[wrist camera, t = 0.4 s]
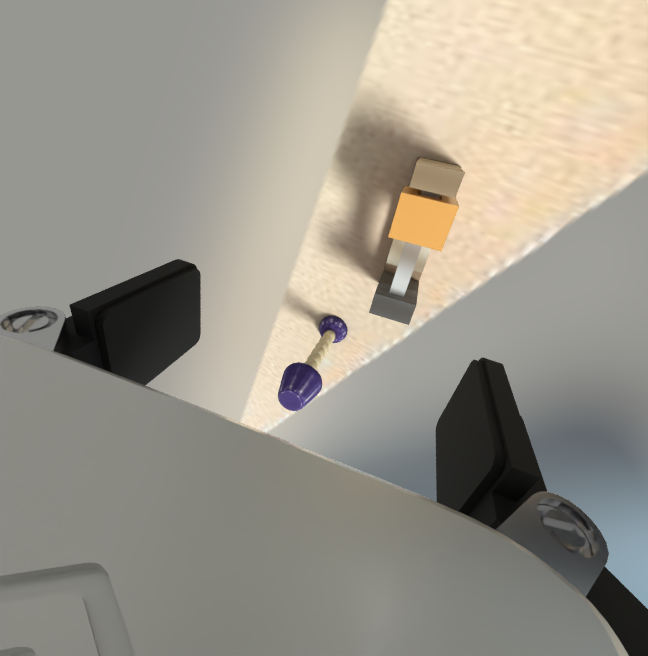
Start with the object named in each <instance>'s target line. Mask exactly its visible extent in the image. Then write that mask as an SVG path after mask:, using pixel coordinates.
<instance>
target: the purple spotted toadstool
mask: <svg viewBox="0 0 648 656" xmlns="http://www.w3.org/2000/svg"><path fill="white" fill-rule="evenodd" d="M319 331H320V334H321V336H322V338H321V339H320V341H319V343H317V345H316V347H315V348H314V349H313V351H312V353H311V355H310V356H309V357H308V359H307V361H306V362H305V363H300V362H298V363H293V364H291V365H289V366H288V367H287V368H286V369H285V371H284V374H283V377H282V381H281V385H280V388H279V392H278V399H279V402H280V403H281V405H282V406H283V407H285V408H286V409H288V410H291V411H297V410H300V409H302V408H303V407H304V406H305V405H307V404H308V403H309V402H310V401H311V400H312V399H313V398H314V397H315V396H316V395H317V394H318V393H319V392H320V390H321V388H322V379H321V376H320V374H319V373H318V372H317V367H318V366H319V365H320V363H321V361H322V360H323V358H324V357H325V354H326V353H327V352H328V349H329V348H330V346H331V345H332V343H337V342H340V341H342V340H343V339H344V338H345V337H346V335H347V326H346V324H345V323H344V321H343V320H341V319H340V318H338V317H335V316H328V317H325V318H324V319H323V320H322V321H321V323H320V326H319Z"/></svg>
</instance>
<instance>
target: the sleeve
mask: <svg viewBox="0 0 648 656" xmlns="http://www.w3.org/2000/svg"><path fill="white" fill-rule="evenodd" d="M421 193H422V190H420V189H415V188H411V187H409V186H405V187H404V189H403V190H402V192H401V195H400V198H399V202H398V205H397V209H396V212H395V216H394V219H393V222H392V226H391V229H390V233H389V236H388V237H389V238H393V239H397V240H400V241H404V242H408V243H412V244H415V245H419V246H423V247H427V248H430V249H434V250H438V251H442V248H443V246H444V243H445V241H446V238H447V236H448V233H449V231H450V228H451V225H452V223H453V220H454V218H455V215H456V213H457V210H458V208H459V205H458V202H457V200H456V198H453V197H449V196H444V195H440V197H439V199H436V198H432V197H428V196H424V195H421Z"/></svg>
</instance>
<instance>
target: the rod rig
mask: <svg viewBox="0 0 648 656" xmlns="http://www.w3.org/2000/svg"><path fill="white" fill-rule="evenodd" d="M464 173H465V172H464V171H463V170H462V169H461V166H457V165H453V164H448V163H444V162H439V161H435V160H430V159H426V158H422V157H418V159H417V162H416V166H415V169H414V172H413V176H412V179H411V182H410V186H409V187H411V188H415V189H420V190H422V193H421V195H424V196H428V197H432V198H436V199H439V197H440V195H444V196H449V197H453V198H455V197H456V194H457V192H458V189H459V186H460V184H461V181H462V179H463V176H464ZM430 250H431V249H430V248H427V247H423V246H419V245H415V244H412V243H408V242H404V241H400V240H397V239H393V242H392V245H391V248H390V252H389V255H388V258H387V262H386V265H385V268H384V271H383V274H382V277H381V279H380V282H379V284H378V287H377V289H376V292H375V295H374V298H373V301H372V305H371V308H370V312H369V313H372V314H375V315H378V316H381V317H385V318H388V319H391V320H395V321H398V322H401V323H404V324H408V325H409V323H410V320H411V318H412V315H413V312H414V310H415V307H416V303H417V294H418V285H419V279H420V277H421V274H422V272H423V269H424V266H425V264H426V261H427V258H428V256H429V253H430Z"/></svg>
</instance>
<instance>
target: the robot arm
mask: <svg viewBox="0 0 648 656" xmlns="http://www.w3.org/2000/svg"><path fill="white" fill-rule="evenodd" d="M70 309H71V313H72V316H71V317H68V318H66V317H65V314H64V313H63V312H62V311H60V310H58V309H56V308H51V307H41V306H37V307H26V308H21V309H16V310H13V311H10V312H7V313H5V314H3V315H1V316H0V656H648V609H647V608H646V607H645V606H644V605H643V604H642V603H641V602H640V601H639V600H638V599H637V598H636V597H635V596H634V595H633V594H632V593H631V592H630V591H629V590H628V589H627V588H625V586H624V585H623V584H622V583H620V582H619V580H618V579H617V578H616V577H615V576H614V575H613V574H612V573H611V572H610V571H608V569H607V568H606V567H605V565H606V563H607V560H608V555H609V552H608V548H607V543H606V541H605V539H604V538H603V535H602V533H601V532H600V530H599V529H598V528H597V526H596V525H595V524H594V523H593V521H592V520H591V519H590V518H589V517H588V516H587V515H586V514H585V513H584V512H583V511H582V510H581V509H580V508H578V507H577V506H576V505H574V504H573V503H572V502H570V501H569V500H567V499H565V498H563V497H561V496H559V495H557V494H554V493H550V492H547V489H546V487H545V484H544V481H543V478H542V475H541V472H540V469H539V466H538V463H537V460H536V457H535V454H534V451H533V448H532V446H531V442H530V439H529V436H528V433H527V430H526V428H525V424H524V421H523V419H522V417H521V416H520V414H519V411H518V408H517V405H516V402H515V399H514V396H513V393H512V390H511V387H510V384H509V381H508V378H507V375H506V372H505V370H504V366H503V364H501V363H497V362H495V361H492V360H488V359H486V358H481V359H480V360H479V361H477V360H473V361H472V362H471V363H470V365H469V367H468V369H467V371H466V372H465V374H464V376H463V378H462V379H461V381H460V383H459V385H458V386H457V388H456V390H455V392H454V394H453V395H452V397H451V399H450V401H449V403H448V404H447V406H446V408H445V410H444V411H443V413H442V415H441V417H440V418H439V420H438V423H437V427H436V473H437V476H436V478H437V502H435V501H433V500H431V499H428V498H426V497H424V496H422V495H419V494H417V493H414V492H412V491H409V490H407V489H404V488H402V487H399V486H397V485H394V484H392V483H389V482H387V481H385V480H382V479H380V478H378V477H375V476H373V475H370V474H368V473H365V472H363V471H360V470H358V469H355V468H353V467H350V466H348V465H345V464H343V463H340V462H338V461H335V460H332V459H330V458H328V457H325V456H323V455H320V454H318V453H315V452H313V451H310V450H307V449H305V448H303V447H300V446H298V445H295V444H293V443H290V442H287V441H285V440H283V439H280V438H278V437H275V436H272V435H270V434H267V433H265V432H262V431H260V430H257V429H255V428H252V427H250V426H247V425H245V424H242V423H240V422H237V421H234V420H232V419H229V418H227V417H224V416H222V415H219V414H217V413H214V412H211V411H209V410H206V409H204V408H201V407H199V406H196V405H194V404H191V403H189V402H186V401H183V400H181V399H178V398H176V397H173V396H171V395H168V394H165V393H163V392H160V391H158V390H155V389H152V388H150V387H147V386H145V385H146V384H147V383H149V382H150V381H151V380H153V379H154V378H155V377H156V376H157V375H159V374H160V373H161V372H162V371H164V370H165V369H166V368H167V367H168V366H170V365H171V364H172V363H173V362H175V361H176V360H177V359H178V358H179V357H180V356H182V355H183V354H184V353H186V352H187V351H188V350H189V349H190V348H192V347H193V346H194V345H195V344H196V343H197V342H198V340H199V338H200V272H199V270H197V268H196V266H195V265H194V264H192V263H189V262H185V261H182V260H179V259H177V260H174V261H172V262H169V263H167V264H165V265H162V266H160V267H157V268H155V269H153V270H151V271H148V272H146V273H143V274H141V275H139V276H136V277H134V278H131V279H129V280H127V281H124V282H122V283H120V284H117V285H115V286H113V287H110V288H108V289H106V290H103V291H101V292H99V293H96V294H94V295H92V296H89V297H87V298H85V299H82V300H80V301H77V302H75V303H73V304H71V305H70Z"/></svg>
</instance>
